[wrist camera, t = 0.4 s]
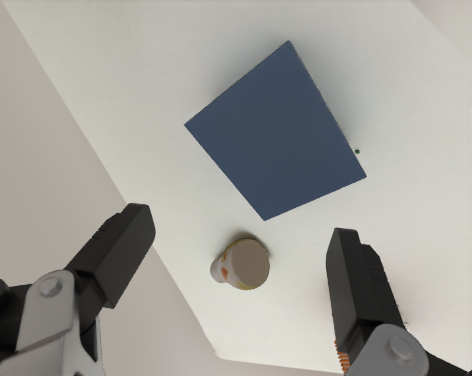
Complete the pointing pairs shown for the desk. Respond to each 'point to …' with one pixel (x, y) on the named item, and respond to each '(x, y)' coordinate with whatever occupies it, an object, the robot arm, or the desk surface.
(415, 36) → the desk surface
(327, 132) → the container
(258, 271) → the patterned salt shaker
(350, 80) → the desk surface
